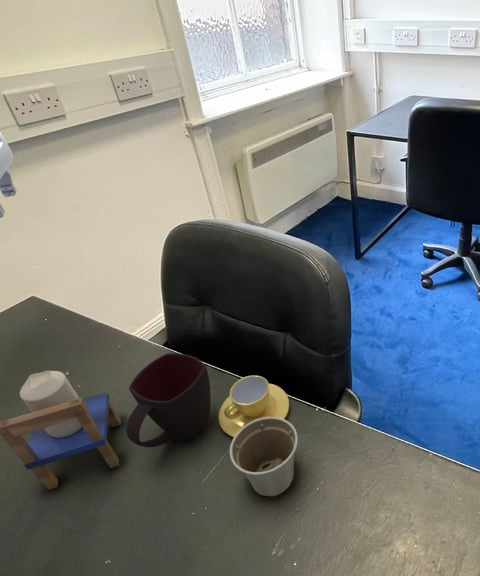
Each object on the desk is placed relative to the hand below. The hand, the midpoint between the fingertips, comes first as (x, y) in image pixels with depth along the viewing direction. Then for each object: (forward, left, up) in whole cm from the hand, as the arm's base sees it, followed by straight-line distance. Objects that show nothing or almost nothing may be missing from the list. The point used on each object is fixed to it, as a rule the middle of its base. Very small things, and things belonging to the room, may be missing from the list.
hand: (5, 205), depth 75 cm
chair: (+14, -28, -31) cm, 44 cm away
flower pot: (+45, -35, -31) cm, 65 cm away
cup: (+40, -22, -31) cm, 55 cm away
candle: (+14, -27, -24) cm, 39 cm away
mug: (+28, -26, -31) cm, 49 cm away
